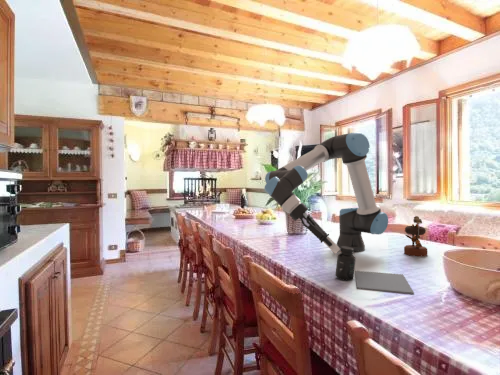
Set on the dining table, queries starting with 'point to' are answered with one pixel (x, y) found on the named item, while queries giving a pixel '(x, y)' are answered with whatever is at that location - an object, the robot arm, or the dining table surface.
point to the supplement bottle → (345, 264)
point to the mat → (382, 282)
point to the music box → (415, 239)
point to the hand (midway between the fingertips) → (337, 251)
